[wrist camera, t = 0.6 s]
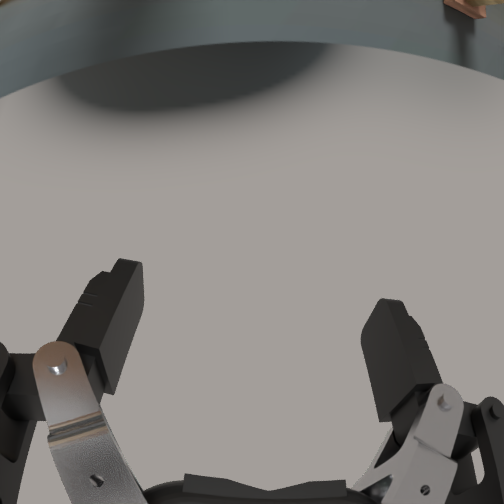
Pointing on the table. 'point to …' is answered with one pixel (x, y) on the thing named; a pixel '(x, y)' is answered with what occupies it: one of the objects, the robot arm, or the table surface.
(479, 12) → the marking gauge
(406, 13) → the table surface
